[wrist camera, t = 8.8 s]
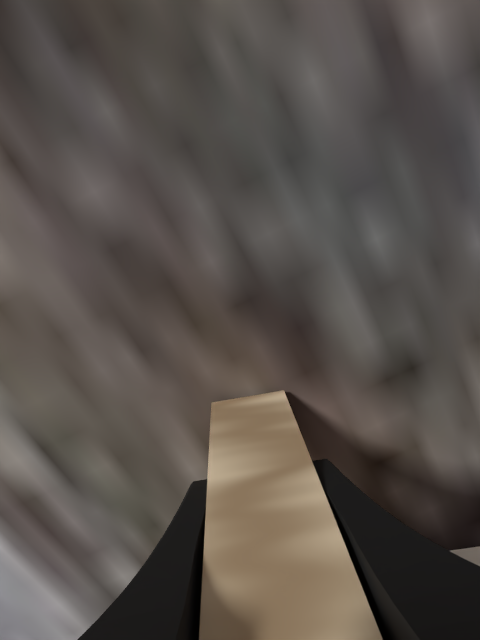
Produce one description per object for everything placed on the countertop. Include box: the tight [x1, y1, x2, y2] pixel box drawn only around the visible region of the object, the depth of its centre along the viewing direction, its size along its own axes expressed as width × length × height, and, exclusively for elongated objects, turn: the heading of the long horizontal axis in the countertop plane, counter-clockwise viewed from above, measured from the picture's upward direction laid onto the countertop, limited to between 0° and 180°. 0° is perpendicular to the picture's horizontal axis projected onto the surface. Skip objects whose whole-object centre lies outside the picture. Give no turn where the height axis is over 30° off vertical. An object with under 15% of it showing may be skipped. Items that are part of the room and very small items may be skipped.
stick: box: [199, 390, 383, 640], centre depth 11 cm, size 3×3×10 cm
